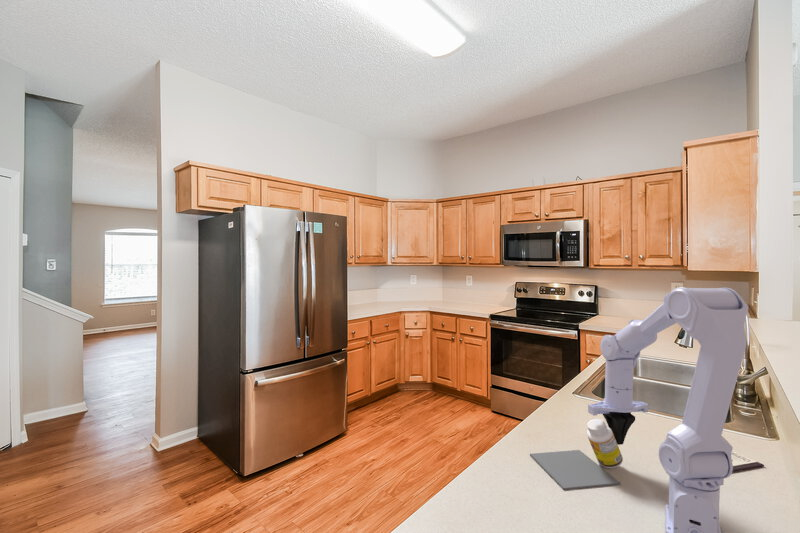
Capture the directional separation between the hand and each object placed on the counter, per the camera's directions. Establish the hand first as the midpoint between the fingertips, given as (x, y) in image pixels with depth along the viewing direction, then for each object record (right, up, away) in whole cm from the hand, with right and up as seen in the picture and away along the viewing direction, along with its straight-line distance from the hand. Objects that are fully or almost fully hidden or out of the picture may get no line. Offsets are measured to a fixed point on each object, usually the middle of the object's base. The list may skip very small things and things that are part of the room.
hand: (617, 442), depth 88 cm
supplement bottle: (-2, -4, 0) cm, 5 cm away
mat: (-12, -5, -2) cm, 13 cm away
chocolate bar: (+25, -6, +2) cm, 26 cm away
